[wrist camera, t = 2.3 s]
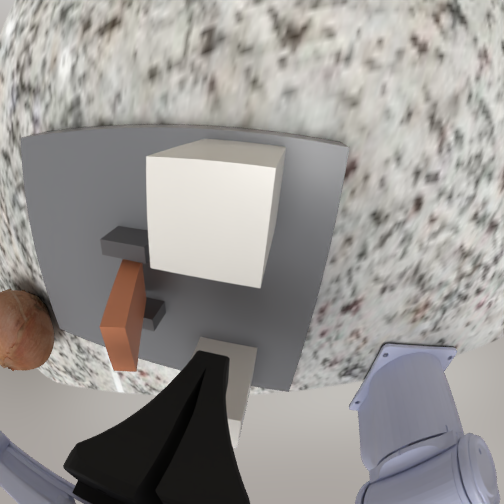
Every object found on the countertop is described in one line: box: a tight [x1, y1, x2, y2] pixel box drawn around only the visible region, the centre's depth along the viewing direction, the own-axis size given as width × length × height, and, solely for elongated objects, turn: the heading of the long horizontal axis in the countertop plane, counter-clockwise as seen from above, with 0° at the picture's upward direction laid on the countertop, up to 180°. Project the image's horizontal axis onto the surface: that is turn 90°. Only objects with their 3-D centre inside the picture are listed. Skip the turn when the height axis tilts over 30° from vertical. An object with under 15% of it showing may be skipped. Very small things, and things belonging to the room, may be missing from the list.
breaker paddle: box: [100, 259, 147, 372], centre depth 14 cm, size 3×1×6 cm, turn 175°
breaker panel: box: [21, 124, 349, 392], centre depth 18 cm, size 18×22×5 cm
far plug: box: [191, 337, 257, 448], centre depth 18 cm, size 4×4×6 cm
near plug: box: [146, 139, 286, 288], centre depth 12 cm, size 4×4×6 cm
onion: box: [0, 289, 54, 371], centre depth 23 cm, size 10×9×10 cm
